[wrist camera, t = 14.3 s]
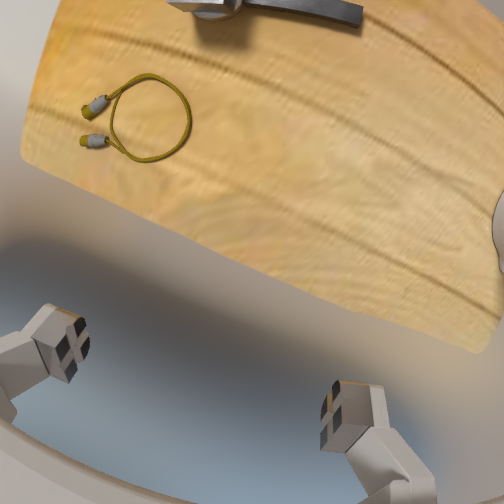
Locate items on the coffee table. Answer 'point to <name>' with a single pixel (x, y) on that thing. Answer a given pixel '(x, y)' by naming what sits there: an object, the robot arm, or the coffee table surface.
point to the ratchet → (299, 10)
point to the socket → (205, 6)
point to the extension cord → (101, 102)
